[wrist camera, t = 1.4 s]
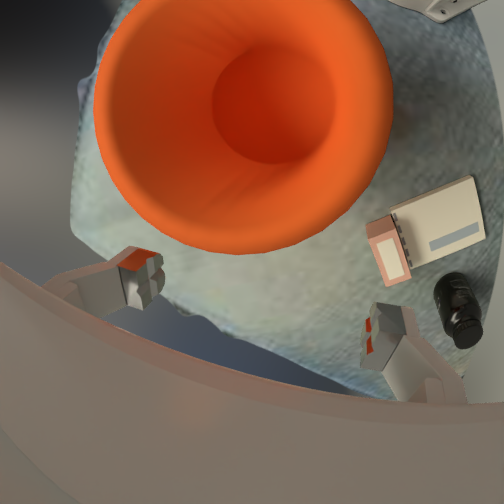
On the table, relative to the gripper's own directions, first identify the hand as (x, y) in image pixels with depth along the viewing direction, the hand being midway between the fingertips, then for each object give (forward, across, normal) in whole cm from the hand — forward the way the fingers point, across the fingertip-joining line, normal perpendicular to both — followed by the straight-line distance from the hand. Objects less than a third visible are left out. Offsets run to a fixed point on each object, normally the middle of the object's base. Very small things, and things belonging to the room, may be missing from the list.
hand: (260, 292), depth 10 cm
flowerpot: (+31, +7, -7) cm, 32 cm away
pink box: (+31, -12, +10) cm, 34 cm away
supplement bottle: (+31, -27, +15) cm, 43 cm away
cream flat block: (+30, -20, +4) cm, 37 cm away
